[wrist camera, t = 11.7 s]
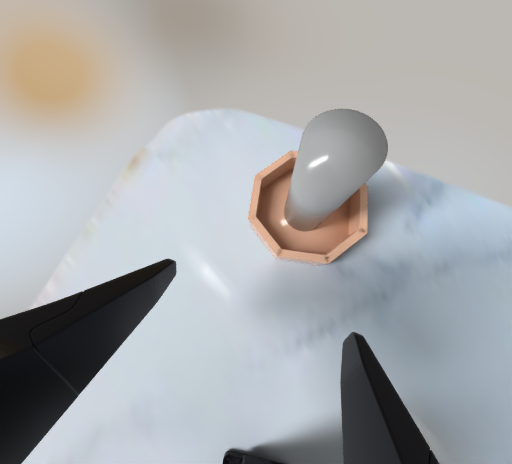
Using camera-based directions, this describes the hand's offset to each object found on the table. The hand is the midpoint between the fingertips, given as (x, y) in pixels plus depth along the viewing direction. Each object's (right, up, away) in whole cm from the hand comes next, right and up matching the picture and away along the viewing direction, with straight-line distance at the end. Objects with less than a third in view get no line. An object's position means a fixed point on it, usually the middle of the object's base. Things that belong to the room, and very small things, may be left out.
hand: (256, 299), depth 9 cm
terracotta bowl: (+6, +6, +15) cm, 17 cm away
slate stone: (+6, +6, +14) cm, 16 cm away
